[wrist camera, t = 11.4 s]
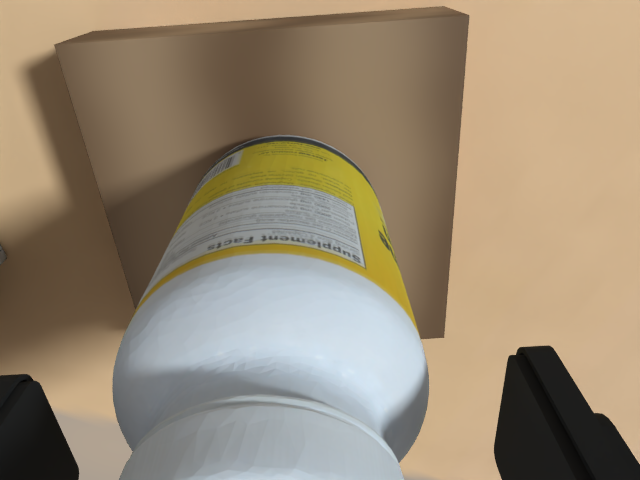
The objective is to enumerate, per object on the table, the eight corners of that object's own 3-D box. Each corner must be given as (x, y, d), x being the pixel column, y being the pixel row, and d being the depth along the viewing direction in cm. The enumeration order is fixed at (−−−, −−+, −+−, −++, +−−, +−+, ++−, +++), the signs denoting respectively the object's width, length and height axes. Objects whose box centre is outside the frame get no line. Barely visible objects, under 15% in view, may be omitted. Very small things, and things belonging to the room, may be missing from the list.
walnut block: (444, 6, 17) (469, 15, 14) (428, 294, 23) (443, 337, 20) (92, 31, 17) (54, 44, 14) (167, 310, 23) (150, 356, 20)
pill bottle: (321, 318, 20) (337, 702, 9) (164, 250, 18) (-19, 629, 8) (416, 184, 17) (581, 524, 7) (242, 88, 15) (114, 352, 5)
